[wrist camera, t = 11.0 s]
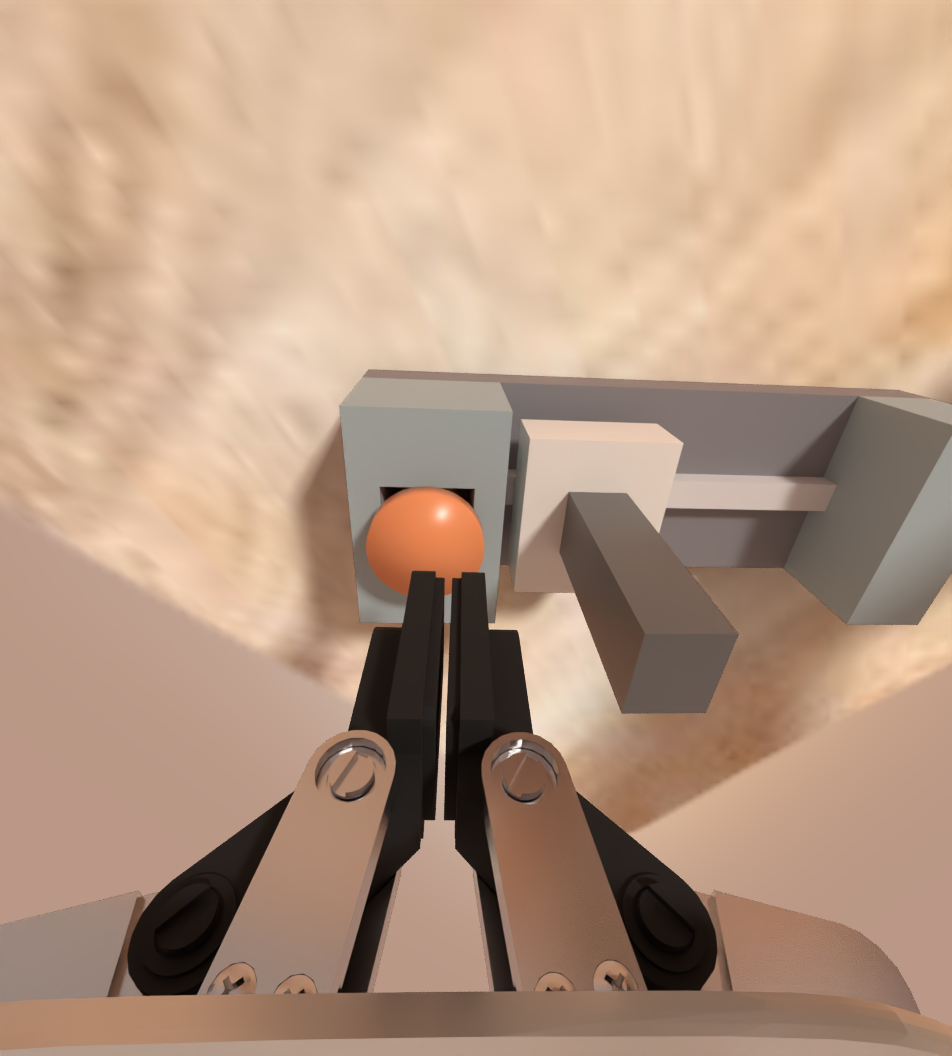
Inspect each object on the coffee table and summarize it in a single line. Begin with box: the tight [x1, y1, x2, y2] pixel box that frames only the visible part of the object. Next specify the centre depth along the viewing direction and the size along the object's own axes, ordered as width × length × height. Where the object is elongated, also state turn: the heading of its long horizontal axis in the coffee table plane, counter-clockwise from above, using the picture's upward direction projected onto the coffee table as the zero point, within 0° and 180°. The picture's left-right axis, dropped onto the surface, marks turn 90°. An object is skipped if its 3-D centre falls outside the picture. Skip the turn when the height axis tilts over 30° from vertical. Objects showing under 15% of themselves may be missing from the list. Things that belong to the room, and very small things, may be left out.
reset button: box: [366, 486, 484, 595], centre depth 16 cm, size 4×4×5 cm
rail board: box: [339, 370, 952, 625], centre depth 18 cm, size 22×8×6 cm, turn 87°
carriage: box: [508, 419, 738, 714], centre depth 14 cm, size 5×6×9 cm
